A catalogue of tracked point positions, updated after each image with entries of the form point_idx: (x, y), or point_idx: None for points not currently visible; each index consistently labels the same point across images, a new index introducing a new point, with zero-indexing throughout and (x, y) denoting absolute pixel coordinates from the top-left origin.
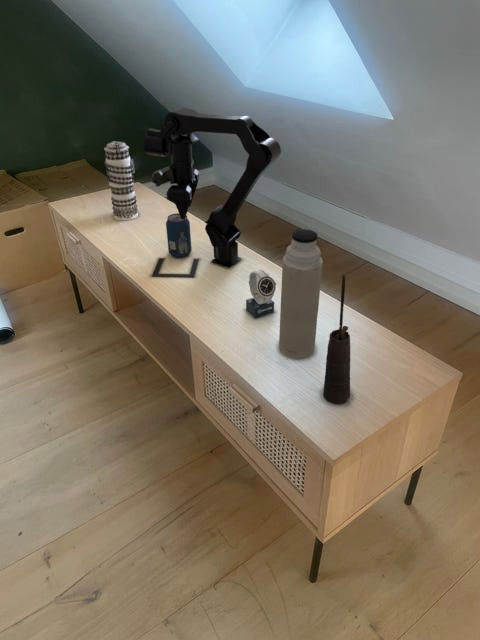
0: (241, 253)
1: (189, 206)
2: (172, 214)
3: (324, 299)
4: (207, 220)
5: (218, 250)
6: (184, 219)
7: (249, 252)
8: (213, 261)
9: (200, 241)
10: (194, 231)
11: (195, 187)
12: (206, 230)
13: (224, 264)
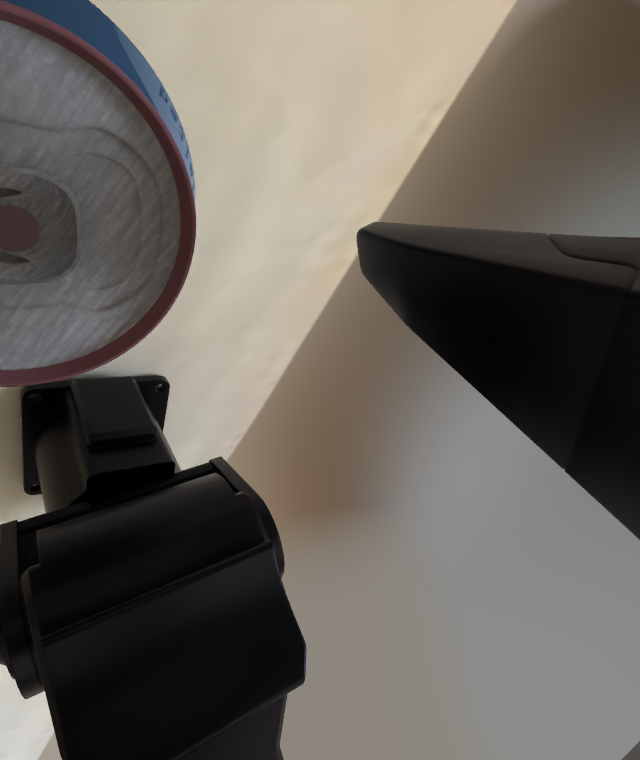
0: (216, 423)
1: (365, 272)
2: (81, 48)
3: (38, 751)
4: (52, 683)
5: (48, 493)
6: (10, 386)
7: (240, 439)
8: (24, 405)
9: (270, 144)
10: (403, 9)
11: (608, 504)
12: (26, 577)
13: (33, 467)
